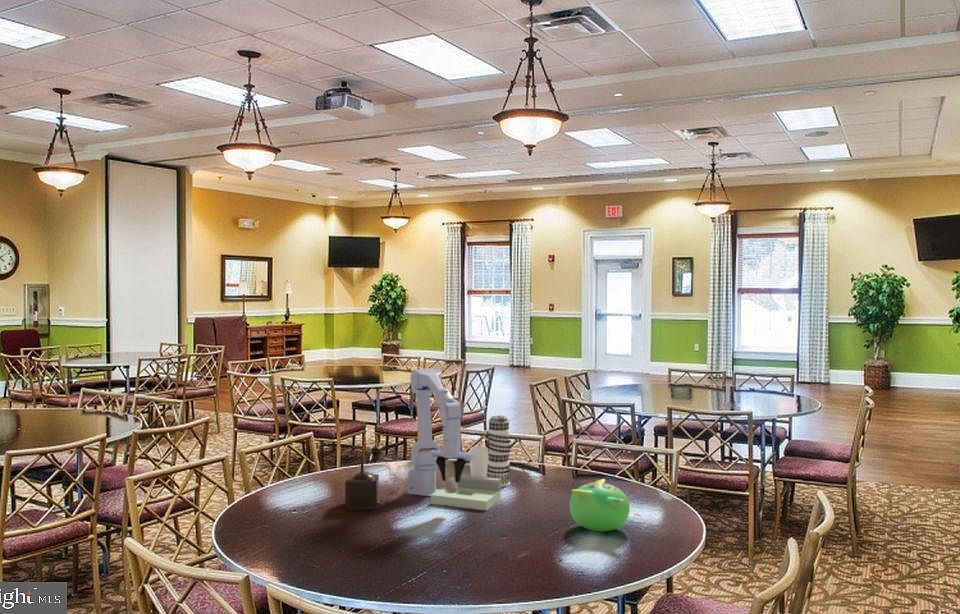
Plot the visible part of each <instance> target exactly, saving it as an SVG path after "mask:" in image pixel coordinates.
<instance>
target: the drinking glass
mask: <svg viewBox="0 0 960 614" xmlns="http://www.w3.org/2000/svg"><path fill="white" fill-rule="evenodd" d="M488 449H489V448H487V446H481V445H477V446H476V445H475V446H471V447H470V448H469V454H473V460H472V461H469V468H470V476H480V477H488V476H487V474H488V460H489V453H488Z"/></svg>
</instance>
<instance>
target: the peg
mask: <svg viewBox="0 0 960 614" xmlns="http://www.w3.org/2000/svg"><path fill="white" fill-rule="evenodd" d="M456 460H457V459H448V460H445V481H444V486H445V492H446V493H456V492H457V482H456V480H455V476H456V471H455V464H454V462H455V461H456Z"/></svg>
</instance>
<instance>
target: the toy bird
mask: <svg viewBox="0 0 960 614" xmlns="http://www.w3.org/2000/svg"><path fill="white" fill-rule="evenodd" d="M570 491H571V493H572V494H571V497H570V499H569V513H570V514H571V517H572V518H573V520H574V521H575V522H576V523H577V524H578V526H579V525H580V526H581V527H582V528H585V529H587V530H590V531H593V532H594V531H595V532H609V531H613V530H616V529H618V528H620V527H621V526H623V525H624V524H625V522H626V521H627V519H628V517H629V515H630V502H629V499H628V497H627V495H626V494H625V492H623V490H621V489H620V488H618V487H617V486H615V485H612V484H609V483H606V479H605V478H601V479H598V480H596V481H594V482H590V483H586V484H584V485H580V486H579V487H577V488H576V489H570Z"/></svg>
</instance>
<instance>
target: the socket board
mask: <svg viewBox="0 0 960 614" xmlns="http://www.w3.org/2000/svg"><path fill="white" fill-rule="evenodd" d="M501 488H502V487H501V479H499V478H489V477H488V476H487V477H480V476H471V474H470V475H469V474H461V478H460V481H459V482H457V492H456V493H446V492H445V485H444V486H443V487H440V488H438V489H439V490H438V491H436V492H435V493H433V494H432V495H431V496H430V504H432V505H438V506H439V505H440V506H445V505H447V506H448V507H453V506H454V507H455V508H463V509H472V510H479V511H488V510H489V509H490V508H491V507H492V506H494V505H495V504H496V503H498V502H499V501H500V500H501V491H502V489H501ZM447 506H446V507H447Z"/></svg>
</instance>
